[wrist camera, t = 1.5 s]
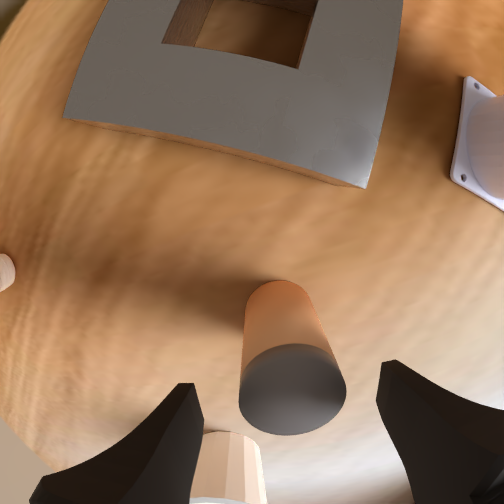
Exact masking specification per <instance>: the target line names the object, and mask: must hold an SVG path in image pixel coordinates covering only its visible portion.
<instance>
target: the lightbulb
mask: <svg viewBox="0 0 504 504" xmlns="http://www.w3.org/2000/svg"><path fill="white" fill-rule="evenodd" d="M14 280H15V267H14V264H13V262H12V260H11V259H10V258H9V257H8V256H7V255H6V254H0V292H1V291H3V290H4V289H6V288H7V287H9V286H10V285H12V284H13V282H14Z"/></svg>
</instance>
